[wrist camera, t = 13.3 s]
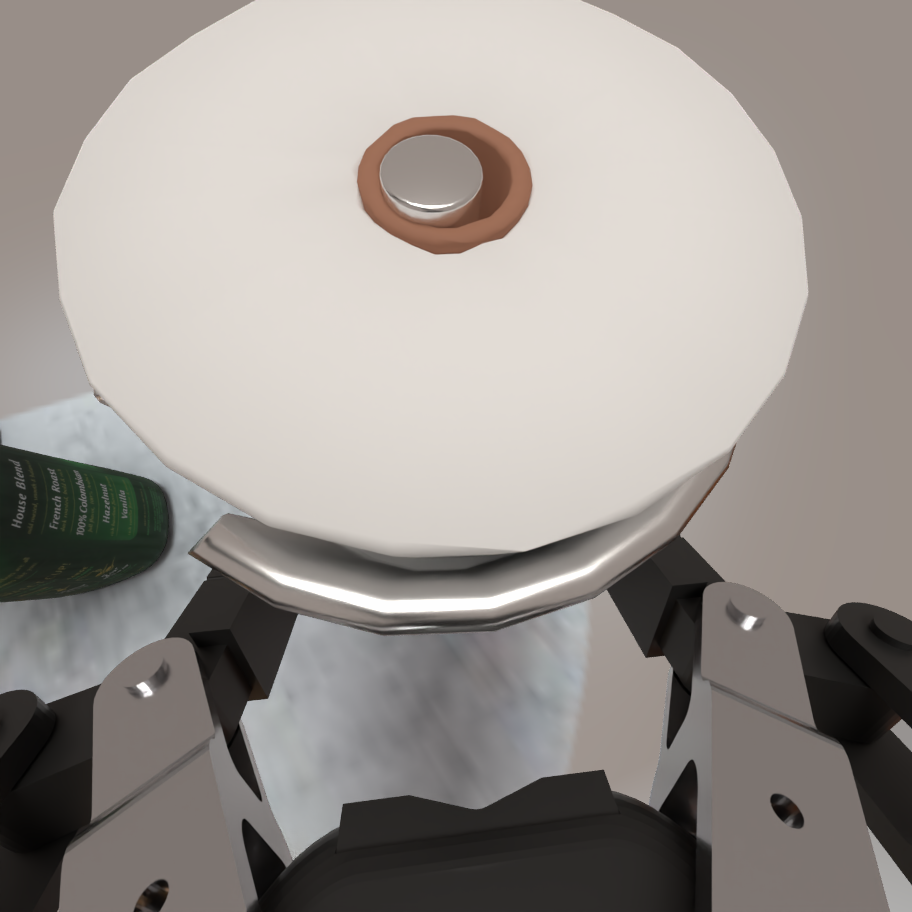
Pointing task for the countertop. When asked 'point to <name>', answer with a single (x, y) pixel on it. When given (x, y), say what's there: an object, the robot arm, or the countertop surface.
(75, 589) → the coffee jar
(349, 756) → the countertop surface
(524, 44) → the silver metal cylinder
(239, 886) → the robot arm
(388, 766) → the countertop surface
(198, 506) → the countertop surface
